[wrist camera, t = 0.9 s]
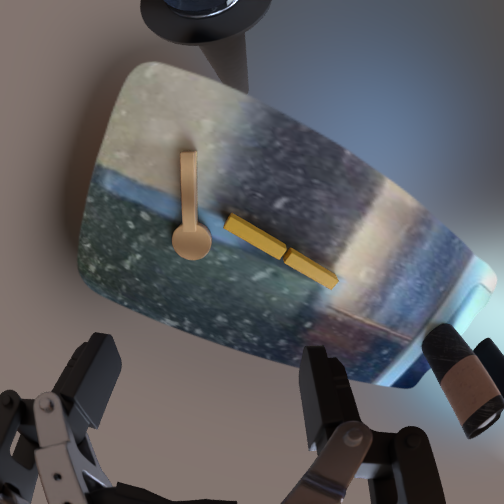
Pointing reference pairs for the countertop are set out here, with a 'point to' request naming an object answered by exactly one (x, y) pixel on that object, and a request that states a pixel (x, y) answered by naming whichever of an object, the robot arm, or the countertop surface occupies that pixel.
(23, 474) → the robot arm
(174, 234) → the spoon
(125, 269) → the countertop surface
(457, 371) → the travel mug
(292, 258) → the bar
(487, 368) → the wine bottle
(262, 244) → the bar
